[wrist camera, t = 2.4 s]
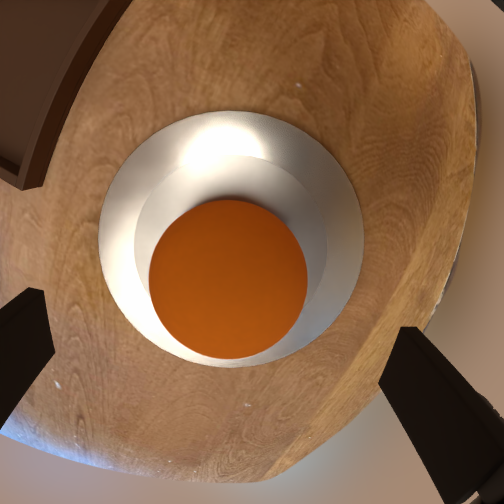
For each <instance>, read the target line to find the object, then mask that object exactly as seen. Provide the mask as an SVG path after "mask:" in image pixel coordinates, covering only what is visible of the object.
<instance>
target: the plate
mask: <svg viewBox="0 0 504 504" xmlns="http://www.w3.org/2000/svg"><path fill="white" fill-rule="evenodd" d="M220 200H237V201H243V202H248V203H251V204H254V205H257V206H259V207H261V208H263V209H265V210H267V211H269V212H270V213H272V214H273V215H275V216H276V217H278V218H279V219H280V220H281V221H282V222H283V223H284V224H285V225H286V226H287V227H288V228H289V229H290V230H291V232H292V233H293V234H294V236H295V238H296V239H297V241H298V243H299V245H300V247H301V249H302V252H303V254H304V258H305V261H306V266H307V274H308V287H307V294H306V298H305V302H304V305H303V309H302V311H301V313H300V315H299V317H298V319H297V321H296V322H295V324H294V325H293V327H292V328H291V329H290V330H289V332H288V333H287V334H286V335H285V336H284V337H283V338H282V339H281V340H280V341H279V342H277V343H276V344H275V345H273V346H272V347H270V348H268V349H266V350H265V351H263V352H260V353H258V354H256V355H253V356H249V357H246V358H240V359H217V358H211V357H207V356H204V355H201V354H199V353H196V352H194V351H192V350H190V349H188V348H187V347H185V346H184V345H182V344H181V343H179V342H178V341H177V340H176V339H175V338H174V337H172V336H171V335H170V333H169V332H168V331H167V330H166V329H165V327H164V326H163V325H162V323H161V322H160V320H159V318H158V316H157V314H156V312H155V310H154V307H153V305H152V302H151V297H150V292H149V282H148V276H149V267H150V262H151V258H152V254H153V252H154V249H155V246H156V245H157V243H158V241H159V239H160V237H161V236H162V234H163V233H164V232H165V230H166V229H167V228H168V226H169V225H170V224H171V223H173V222H174V221H175V220H176V219H177V218H178V217H180V216H181V215H182V214H184V213H185V212H187V211H189V210H191V209H192V208H194V207H196V206H199V205H202V204H205V203H208V202H213V201H220ZM98 247H99V258H100V262H101V267H102V272H103V275H104V278H105V281H106V283H107V286H108V289H109V291H110V293H111V295H112V297H113V299H114V301H115V303H116V304H117V306H118V307H119V309H120V310H121V311H122V313H123V314H124V316H125V317H126V318H127V319H128V320H129V322H130V323H131V324H132V325H133V326H134V327H135V328H136V329H137V330H138V331H139V332H140V333H141V334H142V335H143V336H145V337H146V338H147V339H148V340H150V341H151V342H153V343H154V344H155V345H157V346H158V347H160V348H162V349H163V350H165V351H167V352H169V353H171V354H173V355H175V356H177V357H180V358H182V359H185V360H187V361H191V362H194V363H198V364H202V365H207V366H214V367H226V368H238V367H250V366H256V365H261V364H266V363H269V362H272V361H275V360H279V359H281V358H283V357H286V356H288V355H290V354H293V353H294V352H296V351H298V350H300V349H301V348H303V347H305V346H307V345H308V344H309V343H311V342H312V341H313V340H315V339H316V338H317V337H319V336H320V335H321V334H322V333H323V332H324V331H325V330H326V329H327V328H328V327H329V326H330V325H331V324H332V323H333V322H334V320H335V319H336V318H337V317H338V316H339V314H340V313H341V312H342V310H343V308H344V307H345V305H346V304H347V302H348V300H349V299H350V297H351V294H352V292H353V290H354V288H355V286H356V283H357V280H358V277H359V274H360V270H361V266H362V260H363V254H364V226H363V218H362V214H361V209H360V205H359V202H358V199H357V196H356V194H355V191H354V189H353V186H352V184H351V182H350V181H349V179H348V177H347V175H346V174H345V172H344V170H343V169H342V167H341V166H340V165H339V164H338V162H337V161H336V160H335V158H334V157H333V156H332V155H331V154H330V153H329V152H328V151H327V150H326V149H325V148H324V147H323V146H322V145H321V144H320V143H319V142H318V141H316V140H315V139H314V138H312V137H311V136H310V135H308V134H307V133H305V132H304V131H302V130H301V129H299V128H297V127H295V126H293V125H291V124H289V123H287V122H285V121H282V120H280V119H277V118H274V117H271V116H268V115H264V114H259V113H254V112H249V111H233V110H225V111H214V112H206V113H202V114H198V115H194V116H190V117H187V118H184V119H182V120H179V121H177V122H174V123H172V124H170V125H168V126H166V127H165V128H163V129H161V130H160V131H158V132H156V133H154V134H153V135H152V136H151V137H149V138H148V139H147V140H146V141H144V142H143V143H142V144H140V145H139V146H138V147H137V148H136V149H135V151H134V152H133V153H132V154H131V155H130V156H129V157H128V158H127V159H126V161H125V162H124V163H123V165H122V166H121V168H120V169H119V170H118V172H117V173H116V175H115V177H114V179H113V181H112V183H111V185H110V187H109V189H108V191H107V194H106V197H105V200H104V203H103V206H102V210H101V215H100V221H99V231H98Z"/></svg>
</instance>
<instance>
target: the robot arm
mask: <svg viewBox="0 0 504 504" xmlns="http://www.w3.org/2000/svg"><path fill="white" fill-rule="evenodd" d="M54 354H55V349H54V345H53V340H52V335H51V331H50V325H49V320H48V315H47V309H46V303H45V296H44V290H39V289H35V288H30V287H28V288H27V289H25V290H24V291H23V292H22V293H20V294H19V295H18V296H16V297H15V298H14V299H12V300H11V301H10V302H9V303H7V304H6V305H5V306H4V307H2V308H1V309H0V430H1V428H2V426H3V425H4V423H5V422H6V420H7V419H8V417H9V416H10V414H11V413H12V411H13V410H14V408H15V407H16V405H17V404H18V403H19V401H20V400H21V398H22V397H23V395H24V394H25V393H26V391H27V390H28V388H29V387H30V386H31V384H32V383H33V382H34V380H35V379H36V377H37V376H38V375H39V373H40V372H41V371H42V369H43V368H44V367H45V365H46V364H47V363H48V361H49V360H50V359H51V358H52V356H53V355H54ZM378 384H379V386H380V388H381V389H382V391H383V393H384V394H385V396H386V398H387V400H388V401H389V403H390V404H391V407H392V408H393V410H394V412H395V413H396V415H397V417H398V419H399V420H400V422H401V424H402V426H403V428H404V429H405V431H406V433H407V434H408V436H409V438H410V440H411V442H412V444H413V445H414V447H415V449H416V451H417V453H418V455H419V456H420V458H421V460H422V462H423V464H424V466H425V467H426V469H427V471H428V473H429V475H430V477H431V479H432V481H433V482H434V484H435V486H436V488H437V490H438V492H439V494H440V496H441V498H442V500H443V502H444V504H461V503H463V502H465V501H466V500H467V499H469V498H470V497H471V496H472V495H473V494H474V493H475V492H476V491H477V492H478V494H479V496H478V497H477V498H476V499H474V500H473V501H472V502H471V503H470V504H504V419H503V418H502V417H500V414H499V413H498V412H497V411H496V410H495V409H493V406H492V405H491V404H490V403H489V401H488V400H487V399H486V398H485V397H484V396H482V395H481V394H479V393H478V392H476V391H475V390H474V388H473V387H472V386H471V385H470V384H469V383H468V382H467V381H466V379H465V378H464V377H463V376H462V375H461V374H460V373H459V372H458V371H457V369H456V368H455V367H454V366H453V365H452V364H451V363H450V362H449V361H448V360H447V359H446V357H445V356H443V354H442V353H441V352H440V351H439V350H438V349H437V348H436V347H435V346H434V345H433V344H432V343H431V342H430V340H428V338H427V337H425V335H424V334H423V333H422V332H421V331H420V330H419V329H418V328H417V327H400V330H399V333H398V336H397V338H396V341H395V344H394V346H393V349H392V351H391V354H390V356H389V359H388V361H387V364H386V366H385V368H384V371H383V373H382V375H381V378H380V380H379V382H378Z"/></svg>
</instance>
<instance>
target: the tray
mask: <svg viewBox="0 0 504 504" xmlns="http://www.w3.org/2000/svg"><path fill="white" fill-rule="evenodd" d="M131 1H132V0H0V178H1V179H2V180H4V181H6V182H7V183H9V184H11V185H13V186H14V187H16V188H18V189H20V190H21V191H23V190H28V189H32V188H36V187H42V184H43V181H44V178H45V175H46V171H47V168H48V165H49V162H50V159H51V156H52V153H53V150H54V148H55V145H56V142H57V139H58V137H59V134H60V132H61V129H62V127H63V124H64V122H65V119H66V117H67V115H68V112H69V110H70V108H71V105H72V103H73V101H74V99H75V97H76V94H77V92H78V90H79V88H80V86H81V84H82V82H83V80H84V78H85V76H86V74H87V72H88V70H89V68H90V67H91V65H92V63H93V61H94V59H95V57H96V56H97V54H98V52H99V50H100V49H101V47H102V45H103V44H104V42H105V40H106V39H107V37H108V35H109V34H110V32H111V31H112V29H113V27H114V26H115V24H116V23H117V21H118V20H119V18H120V17H121V15H122V14H123V12H124V11H125V9H126V8H127V7H128V5H129V4H130V2H131Z"/></svg>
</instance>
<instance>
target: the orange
mask: <svg viewBox="0 0 504 504" xmlns="http://www.w3.org/2000/svg"><path fill="white" fill-rule="evenodd" d="M148 282H149V292H150V297H151V302H152V305H153V307H154V310H155V312H156V314H157V316H158V318H159V320H160V322H161V323H162V325H163V326H164V327H165V329H166V330H167V331H168V332H169V333H170V335H171V336H172V337H174V338H175V339H176V340H177V341H178V342H179V343H181V344H182V345H184V346H185V347H187V348H188V349H190V350H192V351H194V352H196V353H199V354H201V355H204V356H207V357H211V358H217V359H240V358H246V357H249V356H253V355H256V354H258V353H260V352H263V351H265V350H266V349H268V348H270V347H272V346H273V345H275V344H276V343H277V342H279V341H280V340H281V339H282V338H283V337H284V336H285V335H286V334H287V333H288V332H289V330H290V329H291V328H292V327H293V325H294V324H295V322H296V321H297V319H298V317H299V315H300V313H301V311H302V309H303V305H304V302H305V298H306V294H307V287H308V274H307V266H306V261H305V258H304V254H303V252H302V249H301V247H300V245H299V243H298V241H297V239H296V238H295V236H294V234H293V233H292V232H291V230H290V229H289V228H288V227H287V226H286V225H285V224H284V223H283V222H282V221H281V220H280V219H279V218H278V217H276V216H275V215H273V214H272V213H270V212H269V211H267V210H265V209H263V208H261V207H259V206H257V205H254V204H251V203H248V202H243V201H237V200H220V201H213V202H208V203H205V204H202V205H199V206H196V207H194V208H192V209H191V210H189V211H187V212H185V213H184V214H182V215H181V216H180V217H178V218H177V219H176V220H175V221H174V222H173V223H171V224H170V225H169V226H168V228H167V229H166V230H165V232H164V233H163V234H162V236H161V237H160V239H159V241H158V243H157V245H156V246H155V249H154V252H153V254H152V258H151V262H150V267H149V276H148Z"/></svg>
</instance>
